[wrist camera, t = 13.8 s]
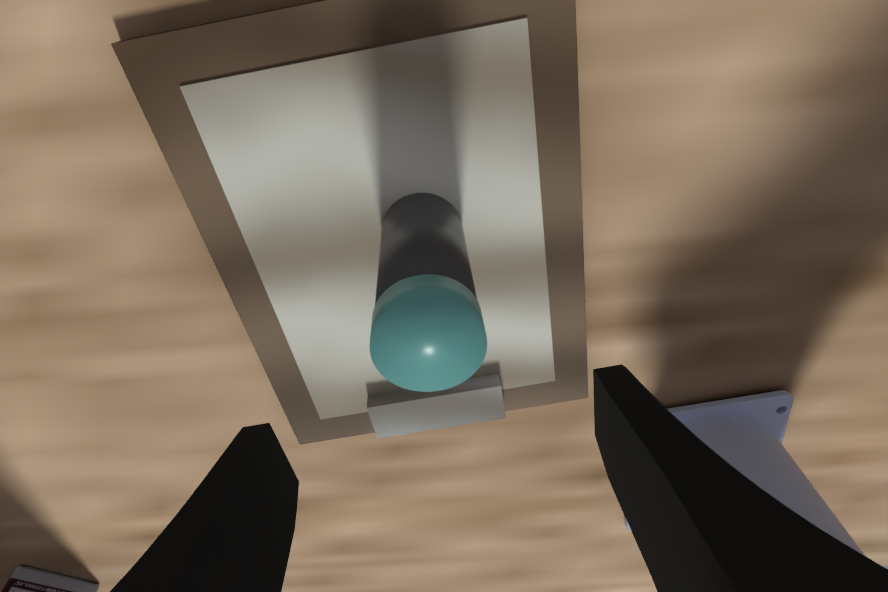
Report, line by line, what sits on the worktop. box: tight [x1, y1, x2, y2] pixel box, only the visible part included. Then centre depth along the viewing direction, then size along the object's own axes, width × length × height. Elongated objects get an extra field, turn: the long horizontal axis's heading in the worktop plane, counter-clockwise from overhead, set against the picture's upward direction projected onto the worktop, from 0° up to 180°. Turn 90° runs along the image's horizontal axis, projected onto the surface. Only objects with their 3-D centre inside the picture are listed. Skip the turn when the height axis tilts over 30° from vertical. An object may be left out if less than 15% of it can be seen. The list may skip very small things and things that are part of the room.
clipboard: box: [111, 0, 588, 444], centre depth 21 cm, size 18×14×2 cm
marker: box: [369, 193, 487, 392], centre depth 17 cm, size 3×3×7 cm
